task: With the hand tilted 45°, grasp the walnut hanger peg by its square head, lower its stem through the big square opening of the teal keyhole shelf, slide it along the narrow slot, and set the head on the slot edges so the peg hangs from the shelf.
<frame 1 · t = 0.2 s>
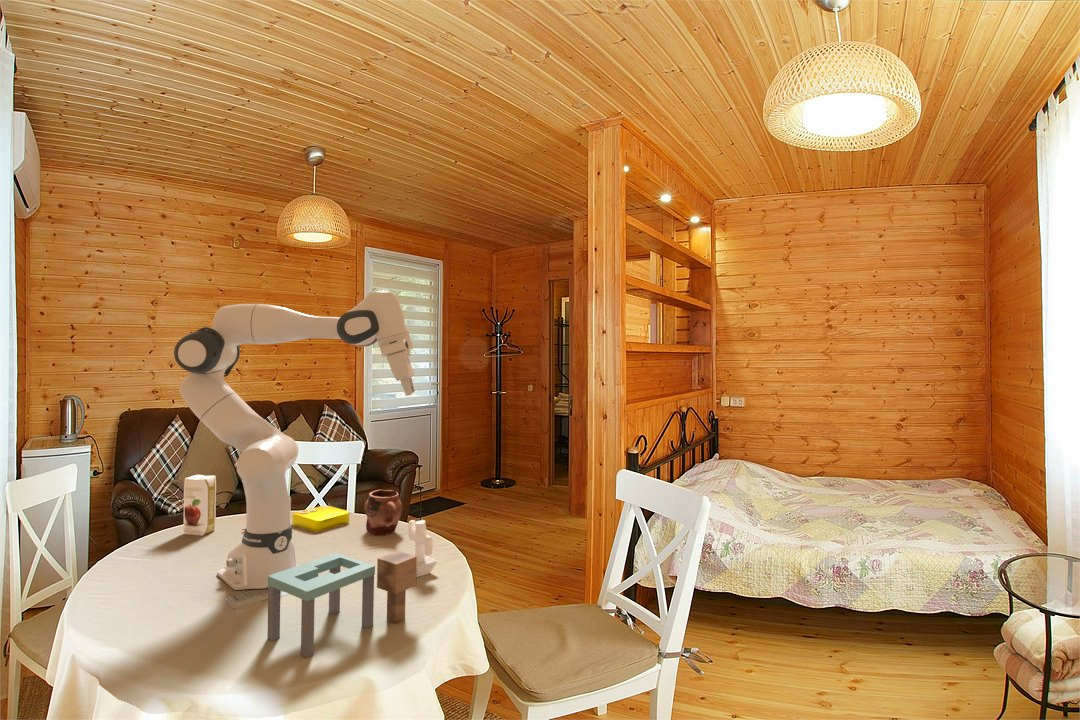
hand: (410, 394, 165), 52 cm above the table, tool tilted 20°, fingers open, 8 cm apart
decorative planter: (383, 533, 204), on the table
keyhole shelf: (321, 631, 134), on the table
figurine: (419, 573, 169), on the table
juice carton: (199, 533, 200), on the table
walnut peg: (395, 619, 141), on the table
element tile: (321, 524, 213), on the table
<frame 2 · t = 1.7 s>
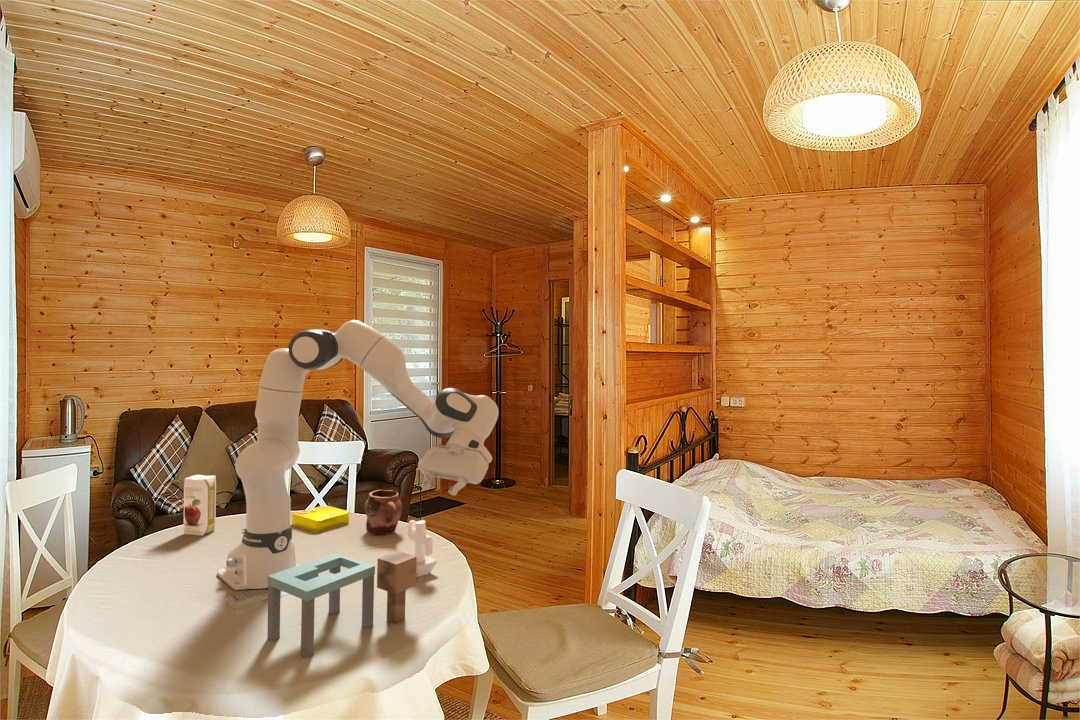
hand: (437, 491, 151), 28 cm above the table, tool tilted 45°, fingers open, 8 cm apart
nothing on the table moved.
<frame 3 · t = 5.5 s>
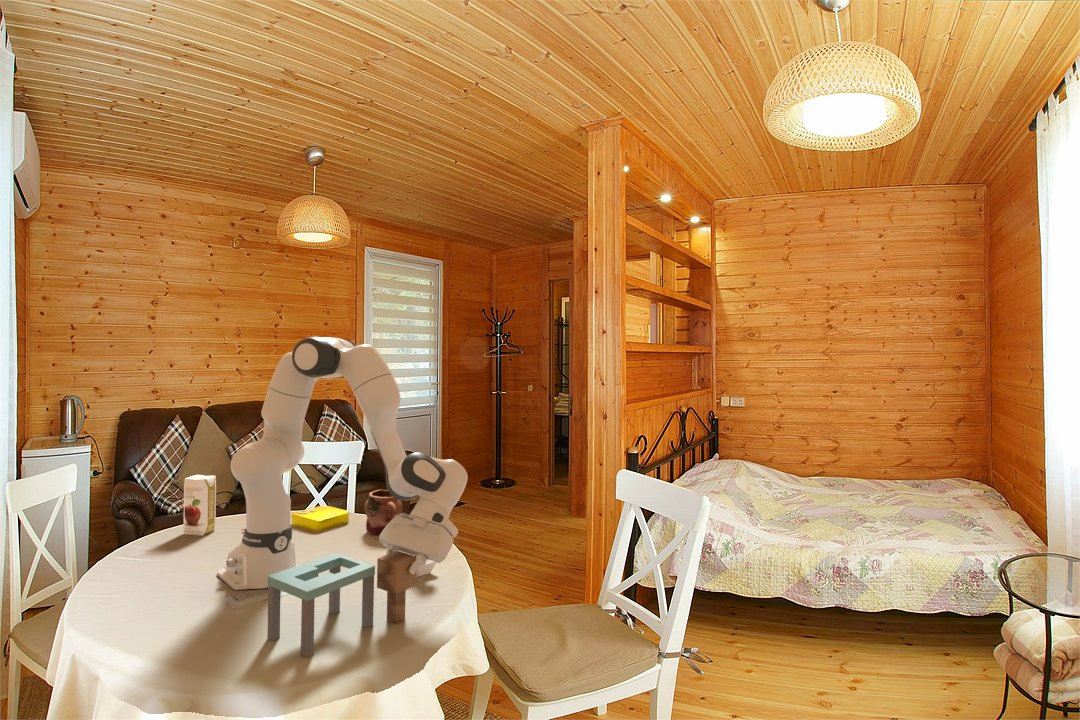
hand: (397, 569, 141), 12 cm above the table, tool tilted 45°, fingers open, 6 cm apart
walnut peg: (395, 619, 141), on the table, touching gripper
everything else where it was.
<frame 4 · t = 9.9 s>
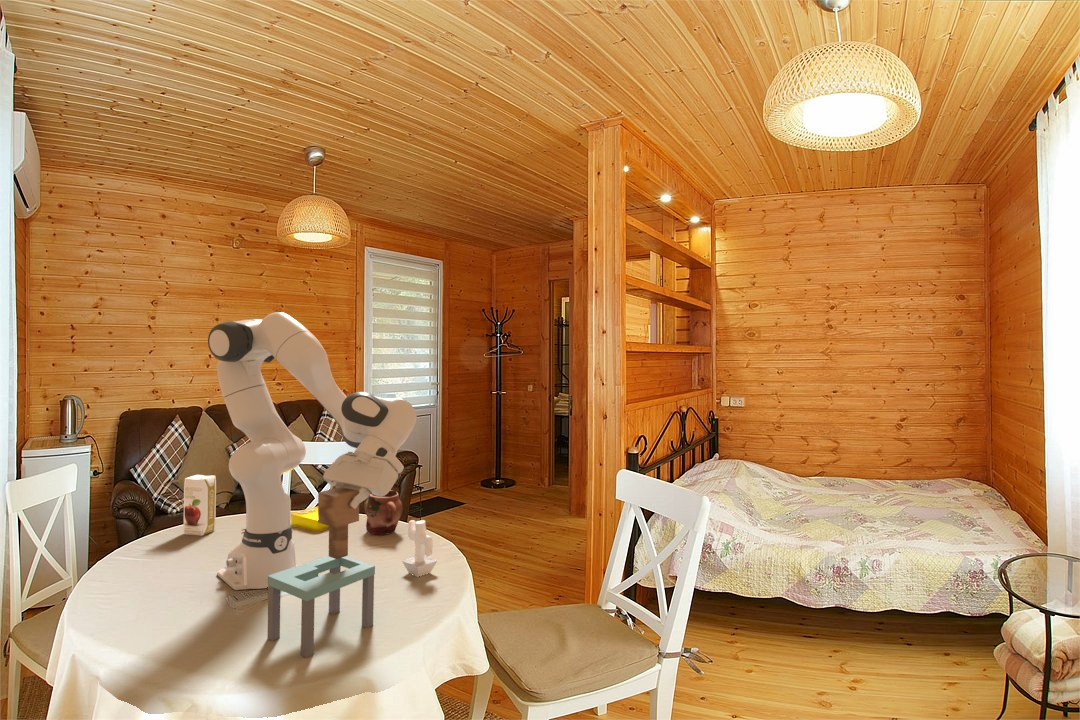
hand: (339, 504, 137), 28 cm above the table, tool tilted 45°, fingers closed on walnut peg, 6 cm apart
walnut peg: (338, 556, 137), point 16 cm above the table, touching gripper
everything else where it was.
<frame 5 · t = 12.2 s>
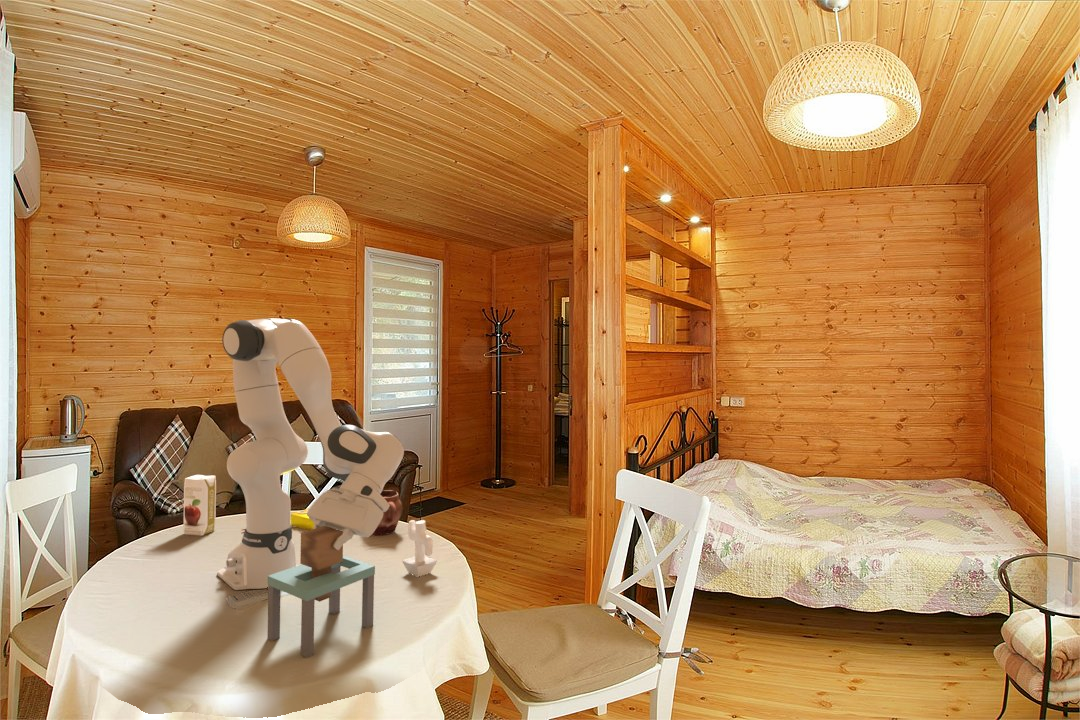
hand: (323, 544, 133), 20 cm above the table, tool tilted 45°, fingers closed on walnut peg, 6 cm apart
walnut peg: (321, 597, 133), point 8 cm above the table, touching gripper
everything else where it was.
when the fingers open (19 cm above the table, at t = 14.0 s): walnut peg stays where it is, resting on keyhole shelf.
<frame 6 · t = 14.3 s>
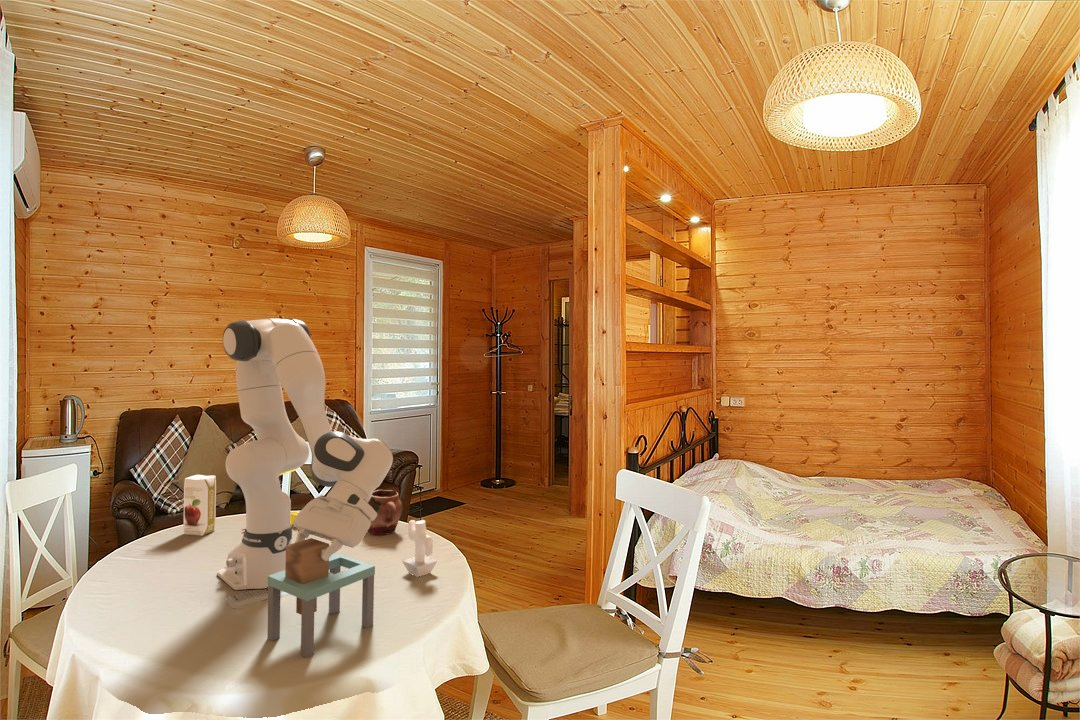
hand: (308, 554, 130), 19 cm above the table, tool tilted 45°, fingers open, 8 cm apart
walnut peg: (306, 611, 130), point 6 cm above the table, touching keyhole shelf
everything else where it was.
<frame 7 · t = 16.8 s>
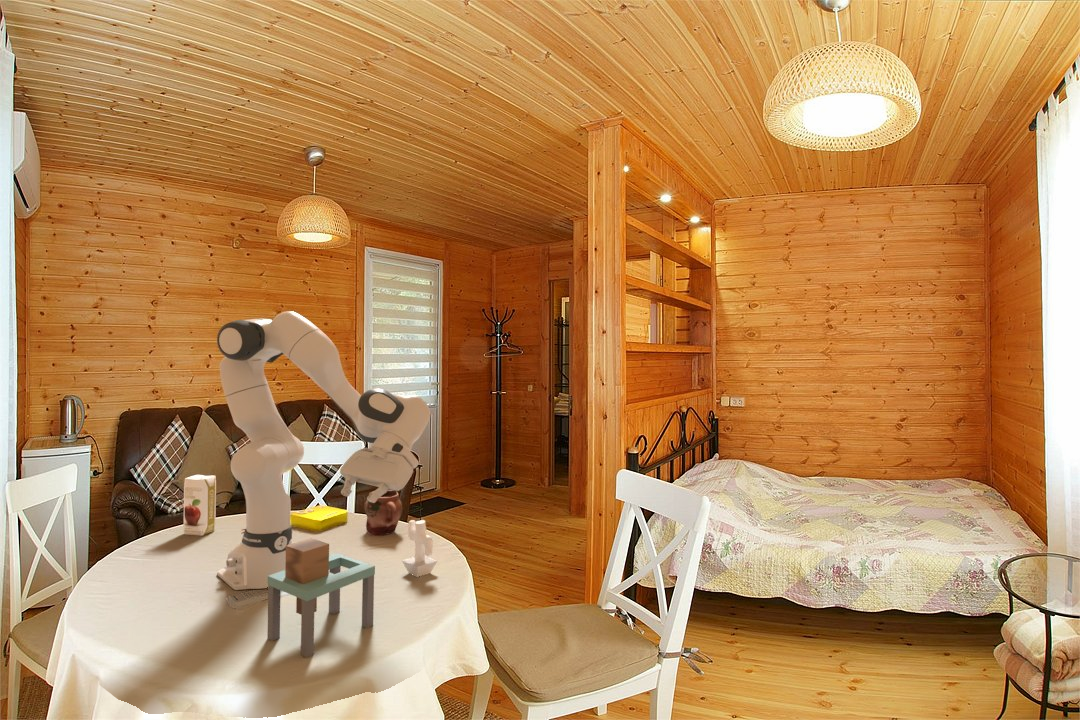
hand: (356, 497, 141), 29 cm above the table, tool tilted 45°, fingers open, 8 cm apart
nothing on the table moved.
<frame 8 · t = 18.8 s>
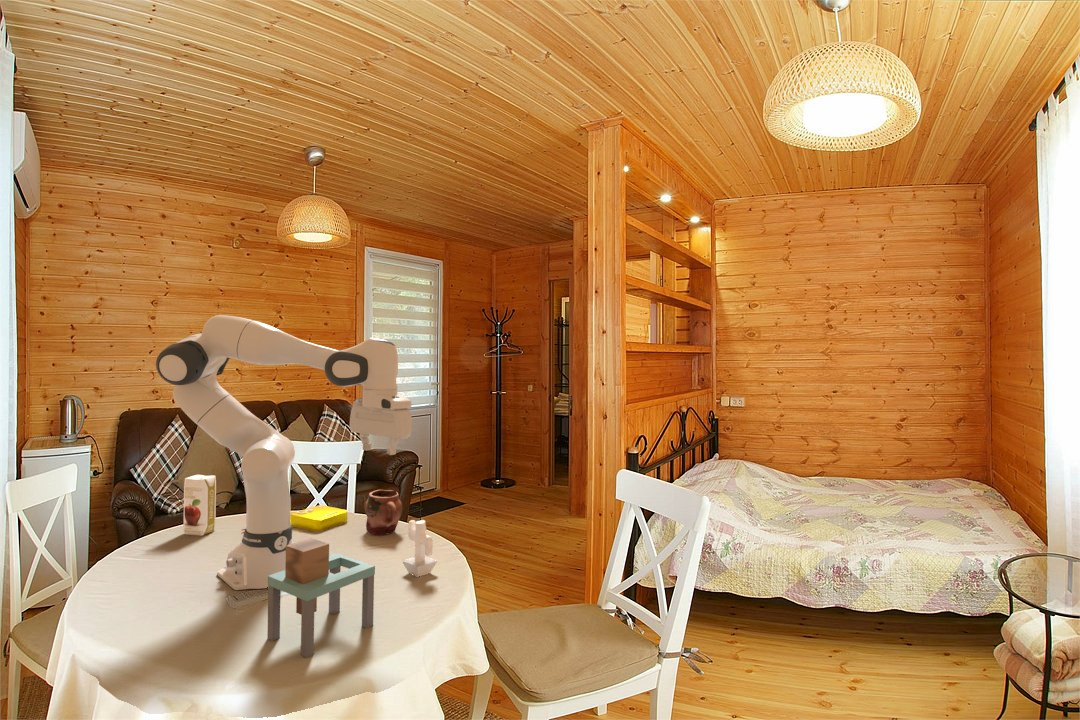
hand: (378, 452, 155), 37 cm above the table, tool pointing down, fingers open, 8 cm apart
nothing on the table moved.
at the end: walnut peg 0.5 cm from the target spot on the keyhole shelf, point 6.0 cm above the keyhole shelf's base; walnut peg touching keyhole shelf; the gripper is holding nothing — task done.
